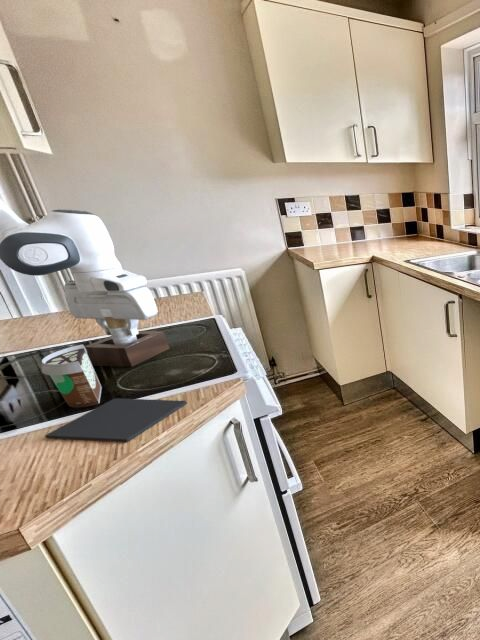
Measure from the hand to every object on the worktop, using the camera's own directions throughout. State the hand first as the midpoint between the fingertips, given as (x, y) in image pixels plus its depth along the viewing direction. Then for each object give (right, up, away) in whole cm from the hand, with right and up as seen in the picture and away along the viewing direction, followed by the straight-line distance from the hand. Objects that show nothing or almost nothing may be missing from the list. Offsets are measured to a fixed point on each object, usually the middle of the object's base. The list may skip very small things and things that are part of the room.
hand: (123, 334), depth 105 cm
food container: (+7, -14, -18) cm, 24 cm away
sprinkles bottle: (0, -6, +2) cm, 6 cm away
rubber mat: (+22, -17, -25) cm, 37 cm away
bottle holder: (0, -6, +2) cm, 6 cm away
